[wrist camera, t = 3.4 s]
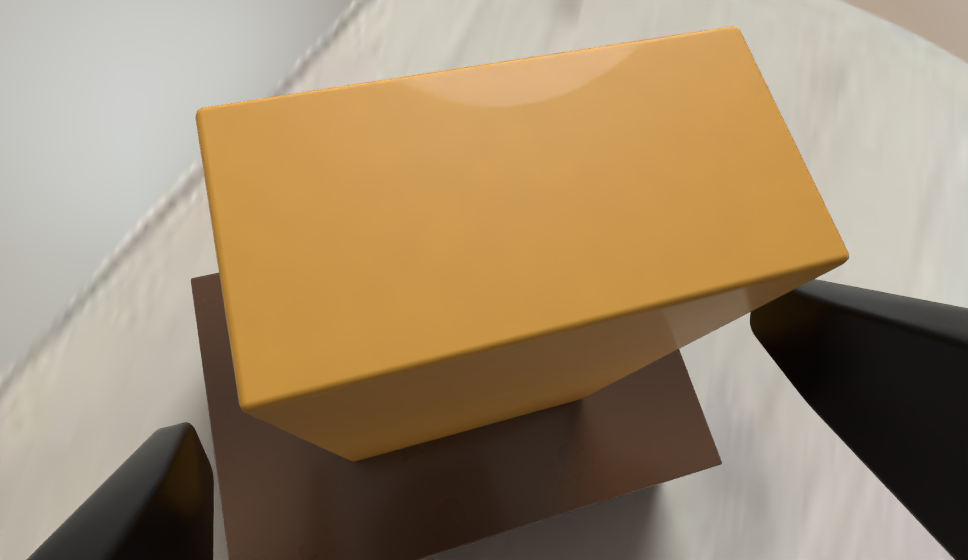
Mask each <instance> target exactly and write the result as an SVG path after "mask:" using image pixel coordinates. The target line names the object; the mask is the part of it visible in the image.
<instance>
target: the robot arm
mask: <svg viewBox="0 0 968 560" xmlns="http://www.w3.org/2000/svg"><path fill="white" fill-rule="evenodd" d="M750 326H751V329H752V331H753V334H754V335H755V337H756V338H757V339H758V340H759V342H760V343H761V344H762V346H763V347H764V348H765V350H766V351H767V352H768V353H769V355H770V356H771V357H772V359H773V360H774V361H775V362H776V364H777V365H778V366H779V368H780V369H781V370H782V371H783V373H784V374H785V375H786V377H787V378H788V379H789V380H790V382H791V383H792V384H793V386H794V387H795V388H796V390H797V391H798V392H799V393H800V395H801V396H802V397H803V398H804V399H805V401H806V402H807V403H808V404H809V405H810V406H811V408H812V409H813V410H814V411H815V412H816V413H817V414H818V415H819V416H820V417H821V418H822V419H823V421H824V422H825V423H826V424H827V425H828V426H829V427H830V428H831V429H832V430H833V431H834V432H835V433H836V434H837V435H838V436H839V437H840V439H841V440H842V441H843V442H844V443H845V444H846V445H847V446H848V447H849V448H850V449H851V450H852V451H853V452H854V453H855V454H856V455H857V457H858V458H859V459H860V460H861V461H862V462H863V463H864V464H865V465H866V466H867V467H868V468H869V469H870V470H871V471H872V472H873V474H874V475H875V476H876V477H877V478H878V479H879V480H880V481H881V482H882V483H883V484H884V485H885V486H886V487H887V488H888V489H889V490H890V492H891V493H892V494H893V495H894V496H895V497H896V498H897V499H898V500H899V501H900V502H901V503H902V504H903V505H904V506H905V507H906V508H907V510H908V511H909V512H910V513H911V514H912V515H913V516H914V517H915V518H916V519H917V520H918V521H919V522H920V523H921V524H922V525H923V526H924V528H925V529H926V530H927V531H928V532H929V533H930V534H931V535H932V536H933V537H934V538H935V539H936V540H937V541H938V542H939V543H940V544H941V546H942V547H943V548H944V549H945V550H946V551H947V552H948V553H949V554H950V555H951V556H952V557H953V558H954V559H955V560H968V308H963V307H958V306H953V305H947V304H942V303H937V302H932V301H926V300H921V299H916V298H911V297H905V296H900V295H895V294H890V293H884V292H879V291H874V290H868V289H863V288H858V287H853V286H847V285H842V284H837V283H832V282H826V281H821V280H816V279H813V280H811V281H809V282H807V283H805V284H803V285H801V286H799V287H798V288H796V289H794V290H792V291H790V292H788V293H786V294H784V295H782V296H780V297H778V298H776V299H774V300H772V301H770V302H768V303H767V304H765V305H763V306H761V307H759V308H757V309H755V310H753V311H751V314H750ZM213 517H214V479H213V472H212V468H211V465H210V462H209V460H208V458H207V455H206V453H205V451H204V449H203V446H202V444H201V442H200V439H199V437H198V435H197V432H196V430H195V428H194V427H193V426H192V425H191V424H190V423H187V422H185V423H181V424H177V425H173V426H169V427H165V428H161V429H159V430H157V431H156V432H155V433H153V434H152V435H151V436H150V437H149V438H148V439H147V440H146V441H145V442H144V443H143V444H142V445H141V446H140V447H139V448H138V449H137V450H136V451H135V452H134V453H133V454H132V455H131V456H130V457H129V458H128V459H127V460H126V461H125V462H124V463H123V464H122V465H121V466H120V467H119V468H118V469H117V470H116V471H115V472H114V473H113V474H112V475H111V476H110V477H109V478H108V479H107V480H106V481H105V482H104V483H103V484H102V485H101V486H100V487H99V488H98V489H97V490H96V491H95V492H94V493H93V494H92V495H91V496H90V497H89V498H88V499H87V500H86V501H85V502H84V503H83V504H82V505H81V506H80V507H79V508H78V509H77V510H76V511H75V512H74V513H73V514H72V515H71V516H70V517H69V518H68V519H67V520H66V521H65V522H64V523H63V524H62V525H61V526H60V527H59V528H58V529H57V530H56V531H55V532H54V533H53V534H52V535H51V536H50V537H49V538H48V539H47V540H46V541H45V542H44V543H43V544H42V545H41V546H40V547H39V548H38V549H37V550H36V551H35V552H34V553H33V554H32V555H31V556H30V557H29V558H28V559H27V560H213Z"/></svg>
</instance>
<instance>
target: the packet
mask: <svg viewBox="0 0 968 560" xmlns="http://www.w3.org/2000/svg"><path fill="white" fill-rule="evenodd" d="M196 124H197V130H198V137H199V144H200V150H201V157H202V163H203V170H204V176H205V183H206V190H207V196H208V203H209V209H210V216H211V222H212V229H213V235H214V242H215V249H216V255H217V262H218V268H219V275H220V281H221V288H222V294H223V301H224V307H225V314H226V321H227V327H228V334H229V340H230V347H231V353H232V360H233V366H234V373H235V380H236V386H237V393H238V399H239V406H240V407H241V409H242V410H243V412H245V413H247V414H249V415H251V416H253V417H256V418H258V419H260V420H262V421H264V422H267V423H269V424H271V425H273V426H275V427H278V428H280V429H282V430H284V431H286V432H289V433H291V434H293V435H295V436H297V437H300V438H302V439H304V440H306V441H308V442H311V443H313V444H315V445H317V446H319V447H322V448H324V449H326V450H328V451H330V452H333V453H335V454H337V455H339V456H341V457H344V458H346V459H348V460H350V461H353V462H355V461H359V460H363V459H366V458H370V457H373V456H377V455H381V454H384V453H388V452H391V451H395V450H399V449H402V448H406V447H410V446H413V445H417V444H420V443H424V442H428V441H431V440H435V439H438V438H442V437H446V436H449V435H453V434H457V433H460V432H464V431H467V430H471V429H475V428H478V427H482V426H485V425H489V424H493V423H496V422H500V421H504V420H507V419H511V418H514V417H518V416H522V415H525V414H529V413H532V412H536V411H540V410H543V409H547V408H551V407H554V406H558V405H561V404H565V403H569V402H572V401H576V400H579V399H583V398H584V397H586V396H588V395H590V394H592V393H594V392H596V391H598V390H600V389H602V388H604V387H606V386H608V385H610V384H612V383H614V382H615V381H617V380H619V379H621V378H623V377H625V376H627V375H629V374H631V373H633V372H635V371H637V370H639V369H641V368H643V367H645V366H646V365H648V364H650V363H652V362H654V361H656V360H658V359H660V358H662V357H664V356H666V355H668V354H670V353H672V352H674V351H675V350H677V349H679V348H681V347H683V346H685V345H687V344H689V343H691V342H693V341H695V340H697V339H699V338H701V337H703V336H705V335H706V334H708V333H710V332H712V331H714V330H716V329H718V328H720V327H722V326H724V325H726V324H728V323H730V322H732V321H734V320H736V319H737V318H739V317H741V316H743V315H745V314H747V313H749V312H751V311H753V310H755V309H757V308H759V307H761V306H763V305H765V304H767V303H768V302H770V301H772V300H774V299H776V298H778V297H780V296H782V295H784V294H786V293H788V292H790V291H792V290H794V289H796V288H798V287H799V286H801V285H803V284H805V283H807V282H809V281H811V280H813V279H815V278H817V277H819V276H821V275H823V274H825V273H827V272H829V271H830V270H832V269H834V268H836V267H838V266H840V265H842V264H844V263H845V262H846V261H847V260H848V259H849V253H848V251H847V249H846V247H845V245H844V242H843V240H842V238H841V236H840V234H839V232H838V230H837V228H836V226H835V224H834V222H833V220H832V218H831V216H830V214H829V212H828V210H827V208H826V206H825V204H824V201H823V199H822V197H821V195H820V193H819V191H818V189H817V187H816V185H815V183H814V181H813V179H812V177H811V175H810V173H809V171H808V169H807V167H806V165H805V163H804V160H803V158H802V156H801V154H800V152H799V150H798V148H797V146H796V144H795V142H794V140H793V138H792V136H791V134H790V132H789V130H788V128H787V126H786V124H785V122H784V119H783V117H782V115H781V113H780V111H779V109H778V107H777V105H776V103H775V101H774V99H773V97H772V95H771V93H770V91H769V89H768V87H767V85H766V83H765V81H764V78H763V76H762V74H761V72H760V70H759V68H758V66H757V64H756V62H755V60H754V58H753V56H752V54H751V52H750V50H749V48H748V46H747V44H746V42H745V39H744V37H743V35H742V33H741V31H740V30H739V29H738V28H737V27H734V26H731V27H725V28H718V29H712V30H705V31H699V32H692V33H686V34H679V35H673V36H666V37H660V38H653V39H647V40H640V41H634V42H627V43H621V44H614V45H608V46H601V47H595V48H588V49H582V50H575V51H569V52H562V53H556V54H549V55H543V56H536V57H530V58H523V59H517V60H510V61H504V62H497V63H491V64H484V65H478V66H471V67H465V68H458V69H452V70H445V71H439V72H432V73H426V74H419V75H412V76H406V77H399V78H393V79H386V80H380V81H373V82H367V83H360V84H354V85H347V86H341V87H334V88H328V89H321V90H315V91H308V92H302V93H295V94H289V95H282V96H276V97H269V98H263V99H256V100H250V101H243V102H237V103H231V104H225V105H217V106H211V107H205V108H201V109H199V110H197V113H196Z"/></svg>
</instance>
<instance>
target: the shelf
mask: <svg viewBox="0 0 968 560" xmlns="http://www.w3.org/2000/svg"><path fill="white" fill-rule="evenodd" d="M191 285H192V293H193V300H194V307H195V315H196V322H197V329H198V336H199V344H200V351H201V358H202V366H203V373H204V380H205V387H206V395H207V402H208V409H209V417H210V424H211V431H212V438H213V446H214V453H215V460H216V468H217V475H218V482H219V489H220V497H221V504H222V511H223V519H224V526H225V533H226V540H227V548H228V555H229V560H420V559H423V558H426V557H429V556H432V555H435V554H439V553H442V552H445V551H448V550H451V549H454V548H458V547H461V546H464V545H467V544H470V543H474V542H477V541H480V540H483V539H486V538H489V537H493V536H496V535H499V534H502V533H505V532H508V531H512V530H515V529H518V528H521V527H524V526H527V525H531V524H534V523H537V522H540V521H543V520H546V519H550V518H553V517H556V516H559V515H562V514H565V513H569V512H572V511H575V510H578V509H581V508H585V507H588V506H591V505H594V504H597V503H600V502H604V501H607V500H610V499H613V498H616V497H619V496H623V495H626V494H629V493H632V492H635V491H638V490H642V489H645V488H648V487H651V486H654V485H657V484H661V483H664V482H667V481H670V480H673V479H677V478H680V477H683V476H686V475H689V474H692V473H696V472H699V471H702V470H705V469H708V468H711V467H715V466H718V465H721V464H722V461H721V459H720V456H719V454H718V451H717V448H716V446H715V443H714V440H713V438H712V435H711V432H710V430H709V427H708V424H707V422H706V419H705V417H704V414H703V411H702V409H701V406H700V403H699V401H698V398H697V395H696V393H695V390H694V387H693V385H692V382H691V380H690V377H689V374H688V372H687V369H686V366H685V364H684V361H683V358H682V356H681V353H680V350H679V349H677V350H675V351H674V352H672V353H670V354H668V355H666V356H664V357H662V358H660V359H658V360H656V361H654V362H652V363H650V364H648V365H646V366H645V367H643V368H641V369H639V370H637V371H635V372H633V373H631V374H629V375H627V376H625V377H623V378H621V379H619V380H617V381H615V382H614V383H612V384H610V385H608V386H606V387H604V388H602V389H600V390H598V391H596V392H594V393H592V394H590V395H588V396H586V397H584V398H583V399H579V400H576V401H572V402H569V403H565V404H561V405H558V406H554V407H551V408H547V409H543V410H540V411H536V412H532V413H529V414H525V415H522V416H518V417H514V418H511V419H507V420H504V421H500V422H496V423H493V424H489V425H485V426H482V427H478V428H475V429H471V430H467V431H464V432H460V433H457V434H453V435H449V436H446V437H442V438H438V439H435V440H431V441H428V442H424V443H420V444H417V445H413V446H410V447H406V448H402V449H399V450H395V451H391V452H388V453H384V454H381V455H377V456H373V457H370V458H366V459H363V460H359V461H355V462H353V461H350V460H348V459H346V458H344V457H341V456H339V455H337V454H335V453H333V452H330V451H328V450H326V449H324V448H322V447H319V446H317V445H315V444H313V443H311V442H308V441H306V440H304V439H302V438H300V437H297V436H295V435H293V434H291V433H289V432H286V431H284V430H282V429H280V428H278V427H275V426H273V425H271V424H269V423H267V422H264V421H262V420H260V419H258V418H256V417H253V416H251V415H249V414H247V413H245V412H243V410H242V409H241V407H240V406H239V399H238V393H237V386H236V380H235V373H234V366H233V360H232V353H231V347H230V340H229V334H228V327H227V321H226V314H225V307H224V301H223V294H222V288H221V281H220V275H219V273H215V274H211V275H206V276H201V277H196V278H192V279H191Z"/></svg>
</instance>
